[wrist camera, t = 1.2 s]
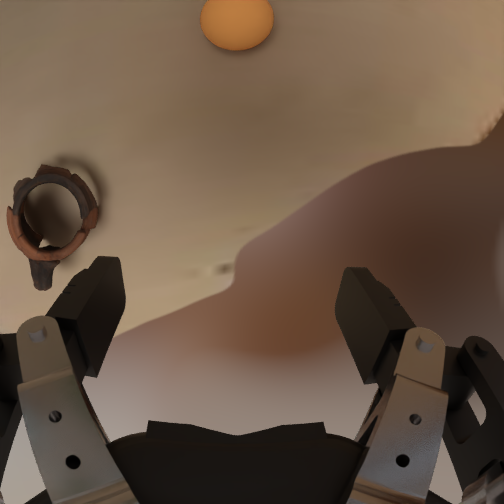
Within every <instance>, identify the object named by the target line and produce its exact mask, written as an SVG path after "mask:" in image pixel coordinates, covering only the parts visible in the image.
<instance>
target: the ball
mask: <svg viewBox="0 0 504 504" xmlns="http://www.w3.org/2000/svg"><path fill="white" fill-rule="evenodd" d="M273 23H274V14H273V10H272V7H271V5H270V4H269V2H268V1H267V0H208V1H207V2H206V3H205V5H204V7H203V9H202V11H201V16H200V24H201V28H202V31H203V33H204V34H205V36H206V37H207V38H208V39H209V40H210V41H211V42H212V43H213V44H215V45H216V46H218V47H221V48H224V49H227V50H245V49H249V48H252V47H254V46H256V45H258V44H259V43H261V42H262V41H263V40H264V39H265V38H266V37H267V36H268V35H269V33H270V31H271V29H272V27H273Z"/></svg>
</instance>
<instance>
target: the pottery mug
mask: <svg viewBox="0 0 504 504" xmlns="http://www.w3.org/2000/svg"><path fill="white" fill-rule="evenodd" d="M44 183H56V184H59V185H62V186H64V187H65V188H67V189H68V190H69V191H70V192H71V193H72V194H73V195H74V197H75V198H76V200H77V202H78V205H79V208H80V214H81V219H83V223H82V227H81V229H80V230H78V231H77V233H76V235H75V237H74V238H73V239H72V241H71V242H70V243H68V244H67V245H66V246H64V247H62V248H60V247H54V246H51V245H48V246H46V247H42V248H39V245H40V242H41V241H42V239H43V236H41V235H39V234H37V233H36V232H35V231H33V230H32V229H31V227H30V226H29V224H28V223H27V221H26V219H25V216H24V200H25V198H26V196H27V195H28V194H29V192H30V191H31V190H33V189H34V188H35V187H37V186H38V185H41V184H44ZM13 199H14V205H13V209H12V208H11V207H10V206H8V207H7V225H8V229H9V233H10V235H11V238H12V240H13V242H14V243H15V245H16V246H17V248H18V249H19V250H20V251H22V252H23V253H24V255H26V257H27V258H29V262H30V268H31V275H32V278H33V282H34V287H35V288H36V289H38V290H39V291H41V290H44V291H46V290H48V289H50V288H51V287H52V276H53V270H54V268H55V267H56V266H57V265H58V264H59V263H60V260H61V259H63V258H65V257H67V256H68V255H70V254H72V253H73V252H74V251H75V250H76V249H77V248H78V247H79V246H80V245H81V244H82V243H83V242H84V241H85V239H86V237H87V236H88V234H89V231H90V229H92V228H95V227H96V223H97V216H98V208H97V207H96V206H97V203H96V200H95V198H94V196H93V194H92V192H91V191H90V189H89V187H88V186H87V185H86V183H85V182H84V181H83V180H82V179H81V178H80V177H79V176H78V175H77V174H71V173H70V171H69V170H67V169H64V168H58V167H51V166H47V165H43V164H42V165H41V166H40V168H39V169H38V171H37V173H36V175H35V177H34V178H33V179H30V178H24V179H23V180H19V181H18V182H17V183H16V185H15V187H14V195H13Z"/></svg>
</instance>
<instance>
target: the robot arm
mask: <svg viewBox="0 0 504 504" xmlns="http://www.w3.org/2000/svg"><path fill="white" fill-rule="evenodd" d="M62 292H63V293H61V294H60V295H59V297H58V298H57V300H56V301H55V302H54V304H53V305H52V307H51V308H50V310H49V311H48V312H47V314H46V315H45V316H36V317H33V318H31V319H29V320H27V321H25V322H24V323H23V324H22V325H21V326H20V327H19V329H18V331H17V333H12V334H0V487H1V482H2V478H3V474H4V471H5V467H6V463H7V460H8V456H9V453H10V450H11V447H12V443H13V440H14V437H15V434H16V431H17V429H18V426H19V423H20V420H21V417H22V415H23V418H24V422H25V426H26V430H27V433H28V437H29V440H30V444H31V447H32V450H33V454H34V456H35V460H36V463H37V465H38V468H39V471H40V474H41V476H42V479H43V482H44V484H45V487H46V489H45V490H44V491H42V492H41V493H39V494H38V495H37V496H35V497H34V498H32V499H31V500H29V501H28V502H26V503H25V504H452V503H450V502H448V501H446V500H445V499H443V498H441V497H440V496H438V495H437V494H435V493H433V492H432V491H430V490H429V486H430V483H431V480H432V476H433V472H434V469H435V465H436V461H437V457H438V452H439V448H440V444H441V439H442V438H443V440H444V443H445V445H446V448H447V450H448V453H449V455H450V458H451V461H452V463H453V466H454V469H455V472H456V474H457V477H458V480H459V483H460V486H461V489H462V492H463V495H462V502H461V503H459V504H504V361H503V359H502V358H501V356H500V355H499V354H498V352H497V351H496V349H495V348H494V347H493V345H492V344H491V343H489V342H488V341H487V340H485V339H483V338H481V337H478V336H470V337H468V338H467V339H466V340H465V342H464V344H463V345H462V347H461V348H456V347H449V346H445V344H444V342H443V340H442V339H441V338H440V337H439V336H438V335H437V334H436V333H434V332H433V331H431V330H428V329H425V328H420V327H416V325H415V324H414V322H413V321H412V320H411V318H410V317H409V315H408V314H407V312H406V311H405V310H404V308H403V307H402V306H400V303H399V301H398V300H397V299H395V296H394V295H393V293H392V292H391V291H390V289H389V288H387V287H386V286H385V285H384V284H382V283H381V282H379V281H377V280H376V279H375V278H374V276H373V275H372V274H371V272H370V271H369V270H368V269H367V268H365V267H347V268H346V269H345V270H344V273H343V276H342V281H341V284H340V288H339V292H338V296H337V299H336V303H335V315H336V320H337V322H338V324H339V326H340V329H341V331H342V333H343V336H344V338H345V340H346V342H347V345H348V347H349V349H350V352H351V354H352V356H353V359H354V361H355V364H356V366H357V368H358V371H359V373H360V376H361V378H362V380H363V383H364V384H372V383H377V384H378V386H379V387H378V389H377V391H376V393H375V395H374V398H373V400H372V402H371V405H370V407H369V410H368V412H367V414H366V416H365V418H364V421H363V423H362V425H361V427H360V429H359V431H358V433H357V435H356V437H355V439H354V440H351V439H349V438H346V437H343V436H339V435H334V434H328V433H326V430H325V427H324V423H323V422H317V423H306V424H292V425H281V426H277V427H273V428H269V429H266V430H262V431H258V432H253V433H249V434H244V435H238V436H237V435H230V434H226V433H222V432H218V431H214V430H210V429H206V428H202V427H199V426H195V425H191V424H178V423H168V422H159V421H150V420H149V421H148V426H147V432H141V433H136V434H131V435H128V436H125V437H122V438H119V439H117V440H114V441H112V442H110V440H109V438H108V436H107V435H106V433H105V431H104V429H103V427H102V425H101V423H100V421H99V419H98V417H97V415H96V413H95V411H94V409H93V406H92V404H91V402H90V400H89V398H88V395H87V393H86V391H85V389H84V386H83V384H82V381H83V379H84V376H90V377H96V378H97V376H98V374H99V371H100V368H101V366H102V363H103V360H104V358H105V355H106V353H107V350H108V348H109V346H110V343H111V341H112V338H113V336H114V333H115V331H116V329H117V326H118V324H119V322H120V319H121V317H122V315H123V312H124V309H125V303H126V296H125V289H124V283H123V276H122V269H121V263H120V259H119V258H118V257H109V256H98V257H97V258H96V259H95V260H94V262H93V263H92V264H91V266H90V267H89V268H88V269H84V270H82V271H81V272H79V273H78V274H76V275H75V276H74V277H73V278H72V279H71V281H70V282H69V283H68V286H66V287H65V289H64V290H63V291H62ZM475 391H476V392H477V394H478V395H479V397H480V399H481V400H482V403H483V404H484V406H485V408H486V419H485V421H484V423H483V424H482V425H481V426H480V424H479V422H478V420H477V418H476V416H475V414H474V412H473V410H472V408H471V406H470V404H469V402H468V399H469V398H470V397H471V396H472V395H473V393H474V392H475ZM0 504H5V503H4V501H3V496H2V493H1V491H0Z"/></svg>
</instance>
